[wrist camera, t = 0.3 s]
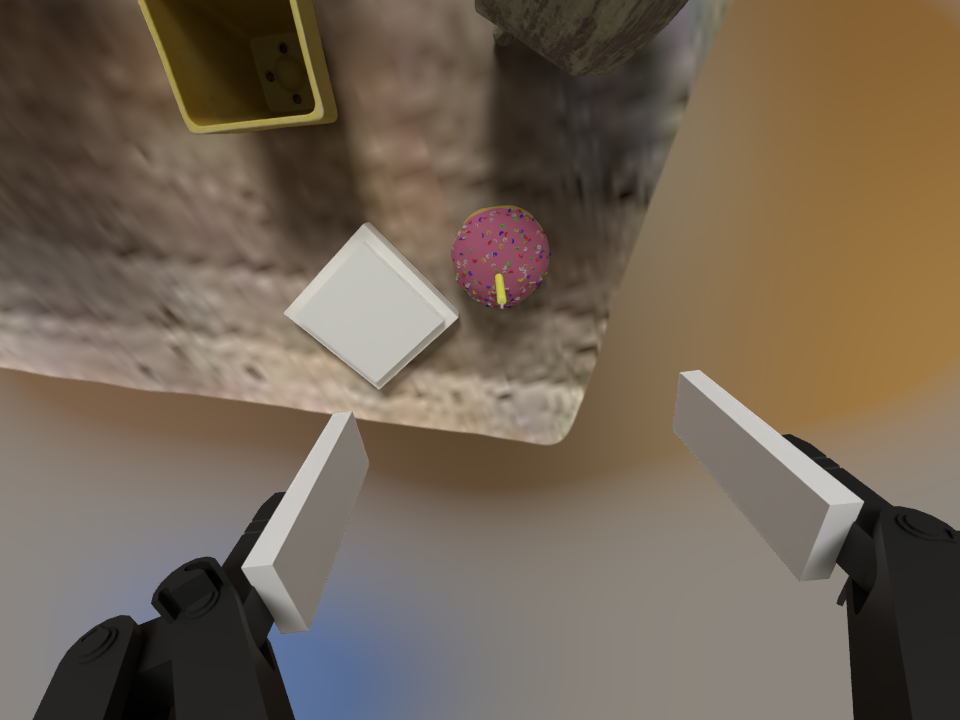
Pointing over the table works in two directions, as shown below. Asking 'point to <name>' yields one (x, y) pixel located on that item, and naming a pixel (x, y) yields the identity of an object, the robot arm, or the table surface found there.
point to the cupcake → (500, 255)
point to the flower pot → (242, 63)
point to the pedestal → (372, 307)
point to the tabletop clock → (580, 29)
